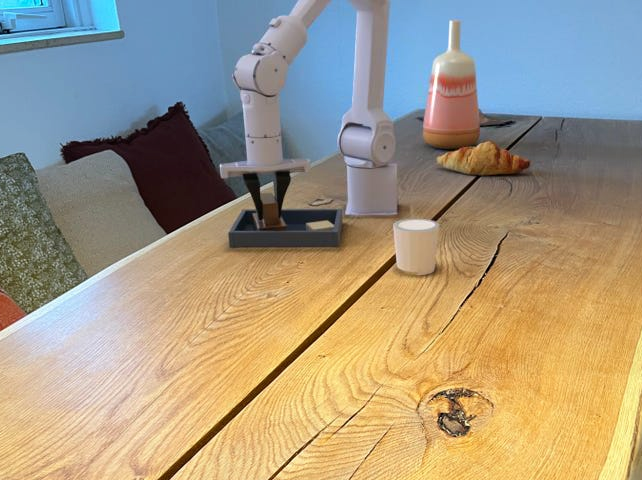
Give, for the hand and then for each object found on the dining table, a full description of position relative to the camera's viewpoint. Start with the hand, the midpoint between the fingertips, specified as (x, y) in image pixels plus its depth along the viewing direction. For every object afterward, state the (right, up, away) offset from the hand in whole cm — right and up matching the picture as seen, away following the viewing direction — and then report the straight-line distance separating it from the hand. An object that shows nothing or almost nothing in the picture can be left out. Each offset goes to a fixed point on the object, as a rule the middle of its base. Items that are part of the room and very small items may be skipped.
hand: (269, 217), depth 133 cm
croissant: (+41, +18, +44) cm, 63 cm away
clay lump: (+8, -2, +3) cm, 9 cm away
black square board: (+34, +41, +87) cm, 102 cm away
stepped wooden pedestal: (0, -3, +1) cm, 3 cm away
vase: (+36, +30, +70) cm, 84 cm away
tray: (+3, -3, +2) cm, 5 cm away
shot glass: (+24, -10, -13) cm, 29 cm away
